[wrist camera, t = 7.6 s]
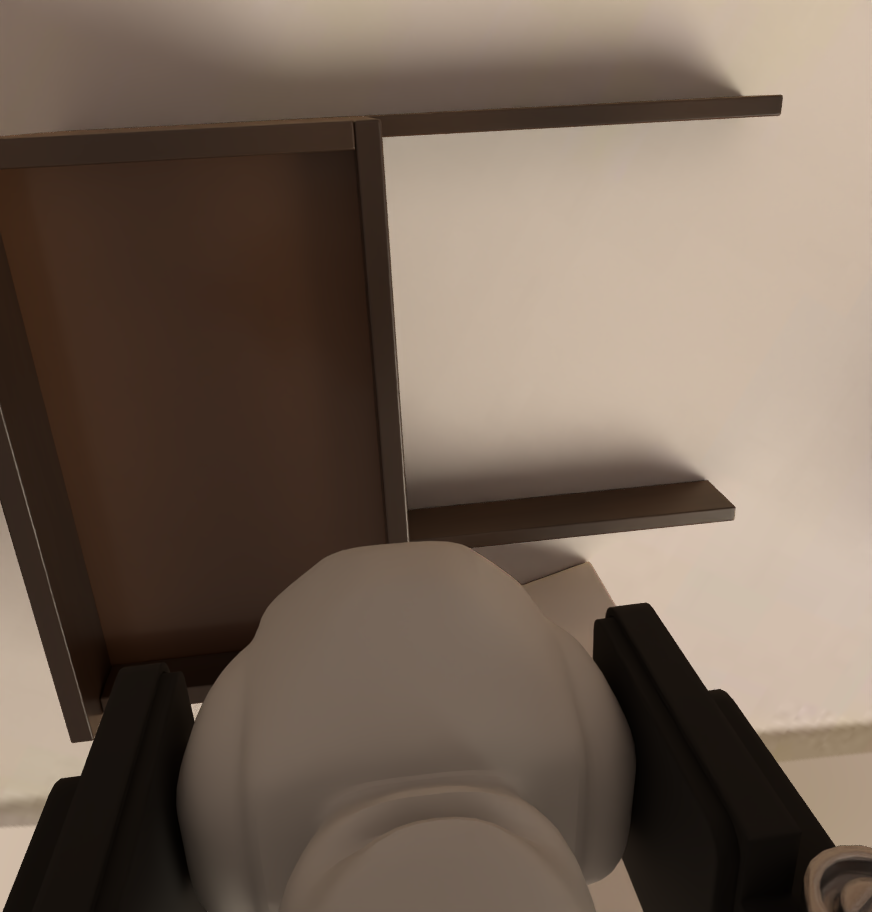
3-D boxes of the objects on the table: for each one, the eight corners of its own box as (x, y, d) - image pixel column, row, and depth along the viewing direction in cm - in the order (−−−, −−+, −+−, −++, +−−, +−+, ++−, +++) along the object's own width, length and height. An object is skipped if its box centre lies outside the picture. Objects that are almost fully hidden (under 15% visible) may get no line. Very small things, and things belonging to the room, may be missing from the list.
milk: (588, 558, 34) (982, 1205, 14) (621, 666, 36) (994, 1348, 16) (453, 607, 34) (647, 1323, 14) (494, 712, 36) (710, 1447, 16)
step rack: (745, 95, 27) (972, 88, 18) (706, 492, 33) (860, 646, 24) (57, 131, 25) (-106, 145, 16) (148, 549, 31) (70, 744, 22)
